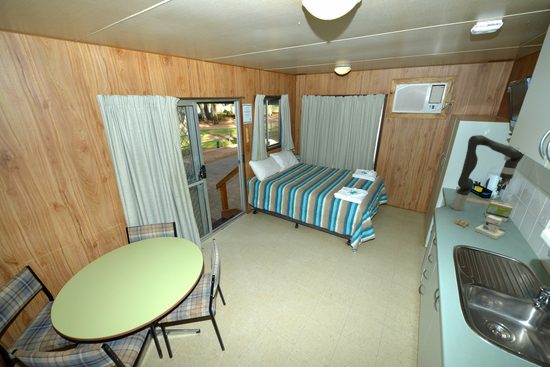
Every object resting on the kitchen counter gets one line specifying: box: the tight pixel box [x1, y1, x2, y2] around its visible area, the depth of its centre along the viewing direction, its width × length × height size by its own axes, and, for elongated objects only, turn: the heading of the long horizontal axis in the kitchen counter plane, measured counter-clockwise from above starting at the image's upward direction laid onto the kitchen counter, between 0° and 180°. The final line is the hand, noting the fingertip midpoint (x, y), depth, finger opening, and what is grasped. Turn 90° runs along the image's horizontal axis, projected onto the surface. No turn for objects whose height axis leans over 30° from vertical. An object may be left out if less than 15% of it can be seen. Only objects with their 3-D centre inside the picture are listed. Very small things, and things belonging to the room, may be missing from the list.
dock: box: [474, 221, 507, 240], centre depth 183 cm, size 14×14×5 cm
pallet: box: [453, 218, 470, 228], centre depth 197 cm, size 8×8×2 cm
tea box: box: [484, 199, 513, 223], centre depth 204 cm, size 15×10×15 cm
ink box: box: [483, 215, 503, 233], centre depth 181 cm, size 8×5×12 cm, turn 27°
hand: (500, 190), depth 185 cm, fingers open, 8 cm apart
